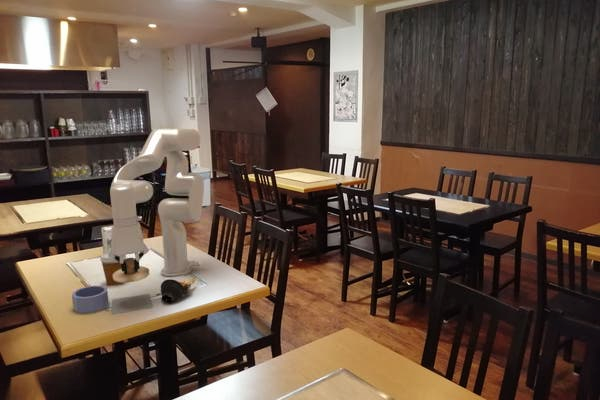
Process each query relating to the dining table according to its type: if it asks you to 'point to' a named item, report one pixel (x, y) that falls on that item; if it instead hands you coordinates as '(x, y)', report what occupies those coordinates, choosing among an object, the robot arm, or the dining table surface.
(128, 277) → the lid
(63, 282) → the dining table surface
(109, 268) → the disposable coffee cup
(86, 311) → the bowl
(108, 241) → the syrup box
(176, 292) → the black dish with food
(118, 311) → the mat
